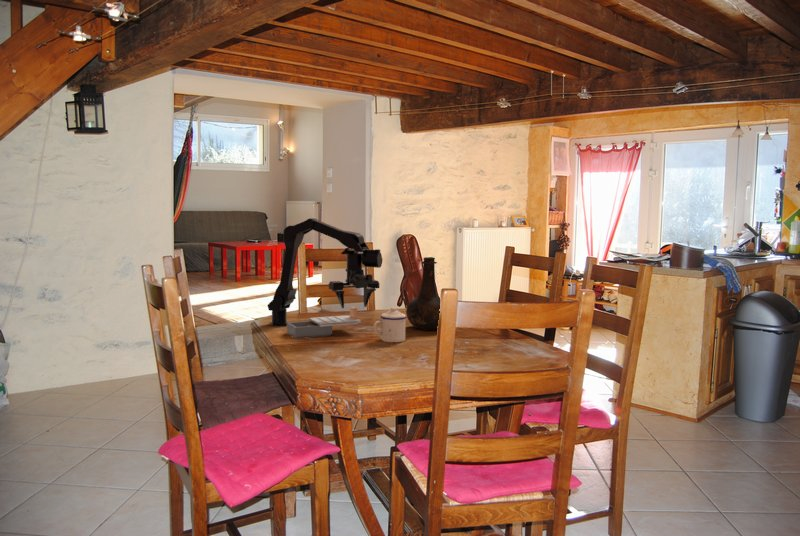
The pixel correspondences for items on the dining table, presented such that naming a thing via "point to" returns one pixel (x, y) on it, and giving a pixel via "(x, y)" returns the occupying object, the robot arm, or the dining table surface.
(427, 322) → the glass bottle
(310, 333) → the tub
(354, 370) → the dining table surface
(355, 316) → the lid
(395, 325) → the teacup with lid
